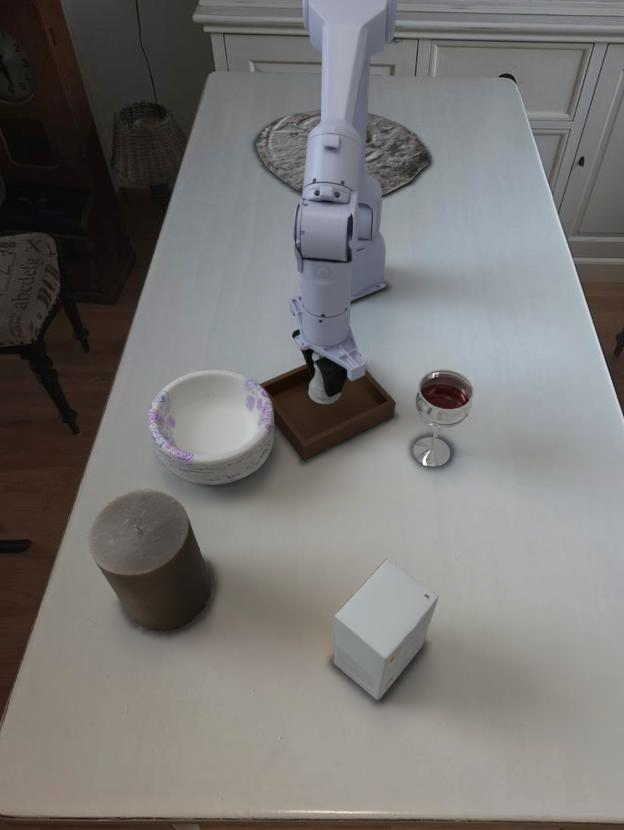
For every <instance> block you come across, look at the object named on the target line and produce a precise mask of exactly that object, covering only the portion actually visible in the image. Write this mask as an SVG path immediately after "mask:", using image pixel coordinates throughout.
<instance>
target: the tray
mask: <svg viewBox="0 0 624 830" xmlns="http://www.w3.org/2000/svg"><path fill="white" fill-rule="evenodd" d="M312 379H313V378H312V377H311V376H310V373H309V371H308V368H307V365H306V363H304V364H303V365H300V366H298V367H296V368H293V369H291V370H288V371H286V372H284V373H281V374H279V375H277V376H274V377H272V378H270V379H268V380H266V381H264V382H261V383H258V384H259V385H260V386H261V387H262V388H263V389H264V390H265V391H266V393H267V394H268V396H269V398H270V400H271V402H272V406H273V413H274V424H276V426H277V427H278V429H280V431H281V432H282V433H283V435H284V436H285V438H286V439H287V440H288V441H289V443H290V444H291V446H292V447H293V448H294V450H295V451H296V453H298V455H299V456H300V457H301V459H302V460H303V461H307V460H308V459H310V458H312V457H315V456H316V455H319V454H321V453H323V452H325V451H326V450H329V449H332V448H333V447H335V446H337V445H339V444H341V443H343V442H345V441H348V440H349V439H351V438H354V437H356V436H357V435H359V434H361V433H364V432H365V431H367V430H370V429H372V428H373V427H376V426H378V425H380V424H382V423H384V422H386V421H388V420H390V419H392V418H394V417H395V412H396V411H395V410H396V405H397V402H396V400H395V399H394V398H393V397H392V396H391V394H389V393H388V392H387V391H386V390H385V388H384V387H383V386H382V385H381V384H380V383H379V382H378V381H377V380H376V379H375V378H374V376H372V374H371V373H370V372H369V371H368V370H367V369H365V375H364V376H362V377H360V378H358V379H355V380H353V381H351V380H350V379H349V378H348V377H347V379H346V381H345V384H344V386H343V389H342V391H341V395H340V397H339V399H338V400H336V401H335V402H333V403H331V404H328V405H322V404H319V403H316V402H315V401H314V400H312V399H311V398H310V396H309V384H310V382H311V380H312Z"/></svg>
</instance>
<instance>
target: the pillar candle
mask: <svg viewBox="0 0 624 830" xmlns="http://www.w3.org/2000/svg"><path fill="white" fill-rule="evenodd" d="M85 537H86V539H85V540H86V543H88V545H87V546H88V549H89V553H90V555H91V557H92V559H93V561H94V563H95V564H96V566H97V567H98V569H99V570H100V571H101V573H102V574H103V576H104V577H105V579H106V581H107V583H108V584H109V585H110V587H111V589H112V590H113V592H114V593H115V595H116V597H117V599H118V601H119V602H120V603H121V605H122V606H123V608H124V609H125V611H126V613H127V614H128V615H129V616H130V618H131V620H133V621H134V623H136V624H137V625H139V626H141V627H143V628H145V629H148V630H151V631H156V632H167V631H173V630H176V629H177V630H178V629H180V628H182V627H185V626H186V625H188V624H190V623H191V622H193V621H194V620H195V619H196V618H197V617H198V616H200V615H201V613H202V612H203V610H205V608H206V606H207V603H208V599H209V598H210V596H211V589H212V585H211V584H212V582H211V578H210V574H209V571H208V569H207V565H206V563H205V560H204V557H203V554H202V552H201V548H200V546H199V543H198V540H197V538H196V535H195V531H194V529H193V526H192V524H191V521H190V518H189V515H188V513H187V510H186V509H185V507H184V506H183V505H182V503H181V502H180V501H178V500H177V498H175V497H174V496H171V495H170V494H168V493H166V492H163V491H159V490H154V489H151V488H144V489H135V490H132V491H128V493H125V494H122V495H120V496H116V497H115V498H114V499H113V500H112V501H108V502H107V503H106V505H105V506H104V507H102V509H101V510H100V511H98V512H97V513H96V516H95V517H94V519H93V520H92V522H91V524H90V526H89V530H88V532H86V536H85Z"/></svg>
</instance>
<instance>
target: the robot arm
mask: <svg viewBox="0 0 624 830" xmlns="http://www.w3.org/2000/svg"><path fill="white" fill-rule="evenodd" d="M398 1H399V0H302V20H303V27H304V30H305V31H306V33H307V34H308V36H309V42H310V46H311V47H312V48H314V49H315V50H316V51H317V52H319V53H320V54H321V90H320V91H321V93H320V94H321V95H320V96H321V97H320V98H321V99H320V110H321V122H320V123H319V124H318V125H317V126H316V127H315V128H314V129H312V130H311V132H310V133H309V135H308V142H307V152H306V162H305V172H304V182H303V192H301V201H300V203H298V202H297V203H296V206H295V209H294V213H293V221H292V244H293V245H292V246H293V252H294V256H295V259H296V270H297V273H300V295H298V296H296V297H293V298H291V299H288V300H289V301H288V303H289V313H290V314H291V315H292V316H293V317H295V319H296V323H297V327H298V329H295V330H294V331H293V332H292V333H291V337H292V339H293V340H294V343H295V345H296V346H297V347H298V348H299V350H300V352H301V354H302V357H303V359H304V362H305V364H306V365H307V368H308V371H309V373H310V376H311V377H312V378H313V377H314V376H315V371H316V369H315V367H314V363H315V364H316V365H317V367H318V368H319V370H320V372H321V374H322V378H323V383H324V390H325V393H326V395H327V396H328V397H332V396H334V395H336V394H338V393H341V391H342V389H343V386H344V384H345V381H346V379H347V377H348V378H349V379H350V380H351V381H353V380H355V379H358V378H360V377H362V376H364V375H365V369H366V367H367V364H366V362H365V361H364V359H363V358H362V355H361V353H360V352H359V347H358V345H357V343H356V340H355V337H354V335H353V331H352V329H351V326H350V324H351V304H352V303H351V302H354V301H356V300H357V299H360V298H361V299H362V298H364V297H365V296H368V295H370V294H373V293H375V292H378V291H380V290H382V289H385V288H386V287H387V284H386V283H385V282H384V275H385V265H386V254H387V249H386V243H385V239H384V236H383V234H382V233H381V231H380V230H381V222H382V211H383V198H382V197H383V195H382V188H381V184H380V183H379V182H378V181H377V180H375V179H374V178H373V177H371V176H370V175H369V174H367V173H366V172H365V171H364V170H365V151H366V133H367V115H368V113H369V96H370V95H369V93H370V79H371V77H370V75H371V59H372V57H374V56H376V55H378V54H381V53H383V52H384V51H385V45H389V44H391V43H392V40H394V37H395V31H396V22H397V10H398ZM314 351H316V352H318V353H319V354H321V355H323V356H325V357H323V358H321V359H318V360H316V361H315V362H314V360H313V358H312V354H313V352H314ZM366 370H367V369H366Z"/></svg>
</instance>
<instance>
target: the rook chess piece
mask: <svg viewBox="0 0 624 830" xmlns="http://www.w3.org/2000/svg"><path fill="white" fill-rule="evenodd" d="M323 357H325V356H323V355H321V354H319V353H318V352H316V351H314V352H313V354H312V358H313V360H314V362H315V361H316V360H318V359H321V358H323ZM314 367H315V369H316V371H315V376H314V377H313V379H312V380H311V382H310V384H309V396H310V398H311V399H312V400H314V401H315V402H316V403H319V404H322V405H328V404H331V403H333V402H335V401H336V400H338V399H339V397H340V395H341V393H338V394H336V395H334V396H332V397H328V396H327V395H326V393H325V390H324V383H323V378H322V374H321V372H320V370H319V368H318V367H317V365H316V364H315V363H314Z"/></svg>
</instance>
